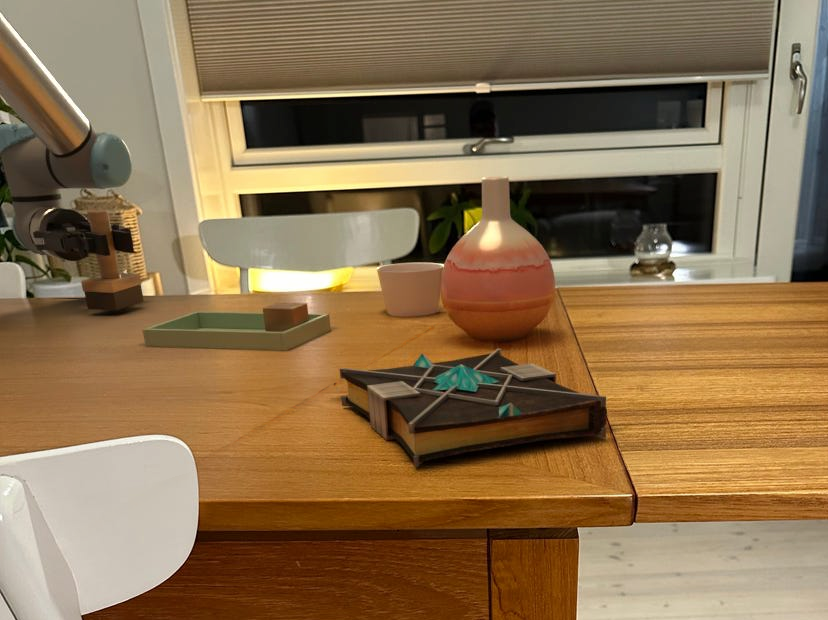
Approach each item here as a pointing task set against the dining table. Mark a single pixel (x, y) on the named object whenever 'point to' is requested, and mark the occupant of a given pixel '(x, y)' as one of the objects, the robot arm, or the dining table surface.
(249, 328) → the tray
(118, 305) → the brush
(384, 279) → the pink cup
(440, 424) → the book
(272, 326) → the brown cube
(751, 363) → the dining table surface
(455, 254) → the vase
